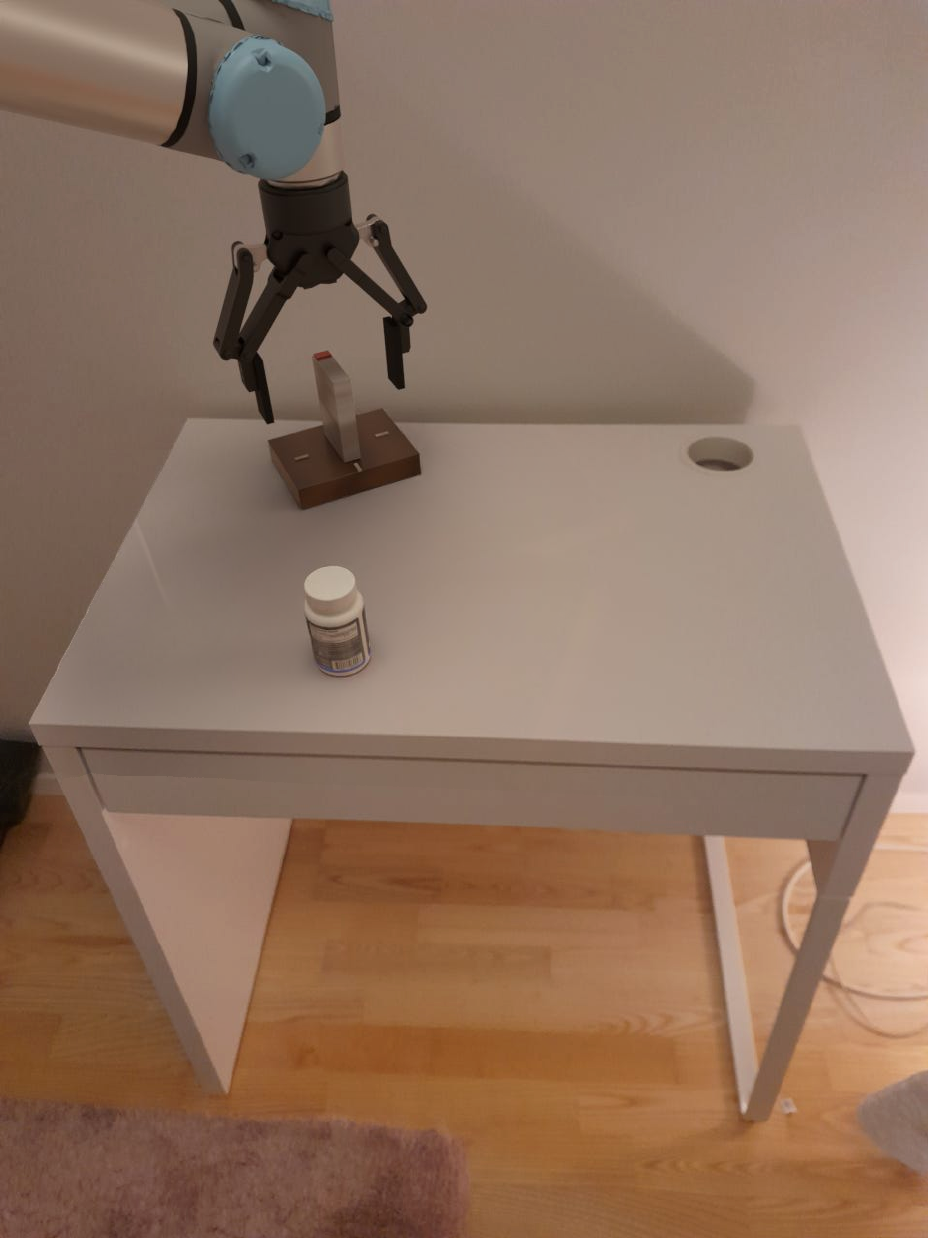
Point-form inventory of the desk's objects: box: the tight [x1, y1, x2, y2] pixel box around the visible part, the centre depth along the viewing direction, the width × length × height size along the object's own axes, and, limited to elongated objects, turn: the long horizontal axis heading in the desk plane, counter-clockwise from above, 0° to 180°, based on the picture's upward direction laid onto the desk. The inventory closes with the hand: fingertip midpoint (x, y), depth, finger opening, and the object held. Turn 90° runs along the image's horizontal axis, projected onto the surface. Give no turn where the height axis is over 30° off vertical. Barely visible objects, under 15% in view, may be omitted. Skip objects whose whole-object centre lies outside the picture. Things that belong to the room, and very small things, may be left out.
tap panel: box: [267, 407, 422, 510], centre depth 97 cm, size 13×10×3 cm
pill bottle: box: [303, 565, 372, 677], centre depth 75 cm, size 5×5×8 cm
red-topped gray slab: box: [311, 350, 361, 463], centre depth 93 cm, size 6×2×9 cm, turn 26°
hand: (333, 400), depth 93 cm, fingers open, 13 cm apart
